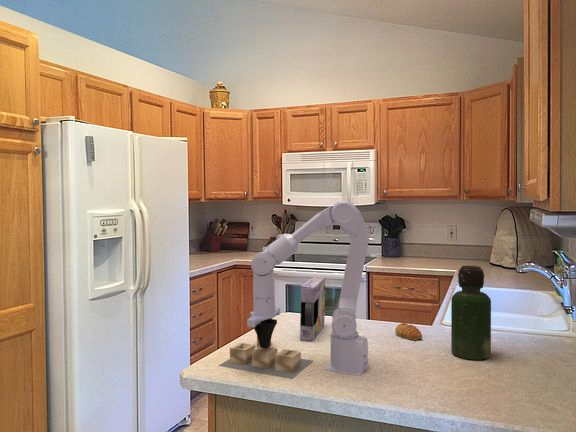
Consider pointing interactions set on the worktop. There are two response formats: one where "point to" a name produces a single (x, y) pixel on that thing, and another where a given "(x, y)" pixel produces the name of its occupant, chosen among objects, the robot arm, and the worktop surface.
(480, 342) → the green bottle
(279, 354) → the block one
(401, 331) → the pastry
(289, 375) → the tap mat
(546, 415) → the worktop surface
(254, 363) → the plain block
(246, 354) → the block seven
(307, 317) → the cake pan box
